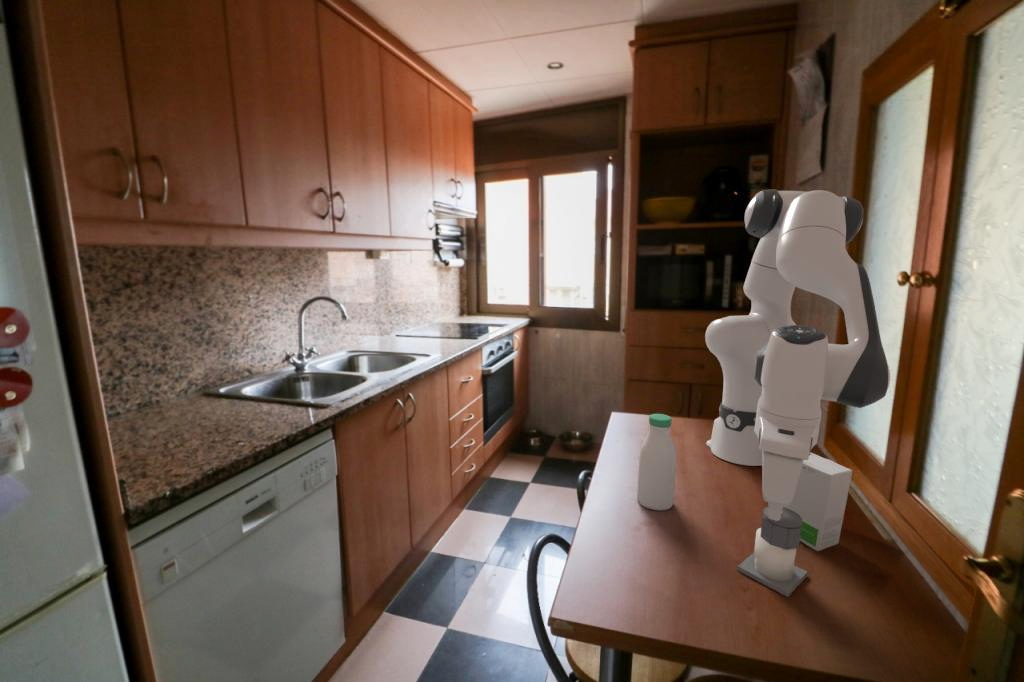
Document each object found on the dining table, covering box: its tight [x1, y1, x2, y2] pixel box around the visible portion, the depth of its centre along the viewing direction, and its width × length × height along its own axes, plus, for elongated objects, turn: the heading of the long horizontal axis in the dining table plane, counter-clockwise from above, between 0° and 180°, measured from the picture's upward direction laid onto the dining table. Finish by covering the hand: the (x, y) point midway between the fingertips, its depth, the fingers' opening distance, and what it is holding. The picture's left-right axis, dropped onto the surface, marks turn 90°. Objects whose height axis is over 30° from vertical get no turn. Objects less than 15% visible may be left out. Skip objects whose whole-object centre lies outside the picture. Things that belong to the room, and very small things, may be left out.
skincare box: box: [783, 451, 853, 552], centre depth 86 cm, size 8×7×16 cm
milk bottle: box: [636, 413, 677, 511], centre depth 98 cm, size 8×8×20 cm
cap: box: [760, 506, 802, 550], centre depth 75 cm, size 6×6×5 cm
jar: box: [737, 527, 808, 598], centre depth 76 cm, size 8×8×10 cm
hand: (775, 503), depth 75 cm, fingers open, 8 cm apart
